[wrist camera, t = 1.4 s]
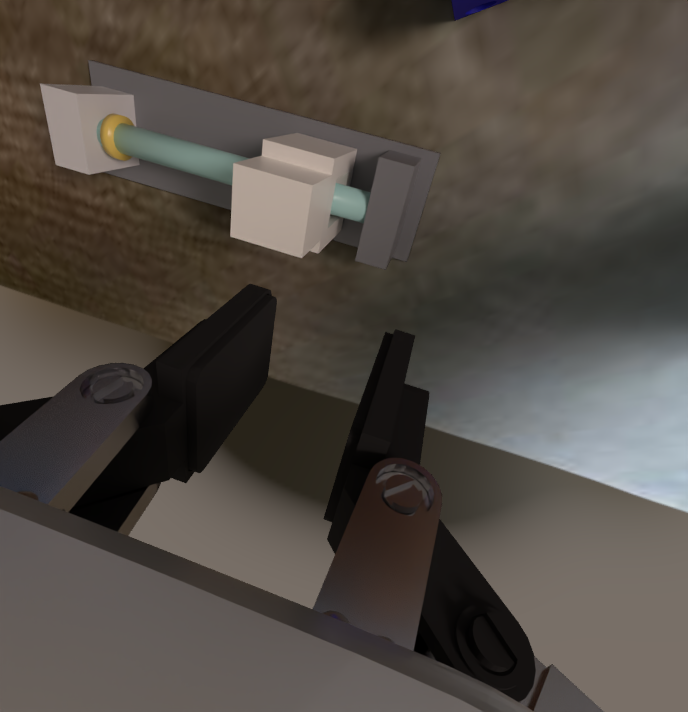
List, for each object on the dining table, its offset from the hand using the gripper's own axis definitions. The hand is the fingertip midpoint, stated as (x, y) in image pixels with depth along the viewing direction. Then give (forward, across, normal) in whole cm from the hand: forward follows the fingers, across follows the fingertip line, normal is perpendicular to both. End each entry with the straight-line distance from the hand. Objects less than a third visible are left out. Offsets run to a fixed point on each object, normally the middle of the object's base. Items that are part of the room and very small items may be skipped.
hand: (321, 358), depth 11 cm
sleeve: (+19, +6, 0) cm, 20 cm away
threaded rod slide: (+19, +11, 0) cm, 22 cm away
